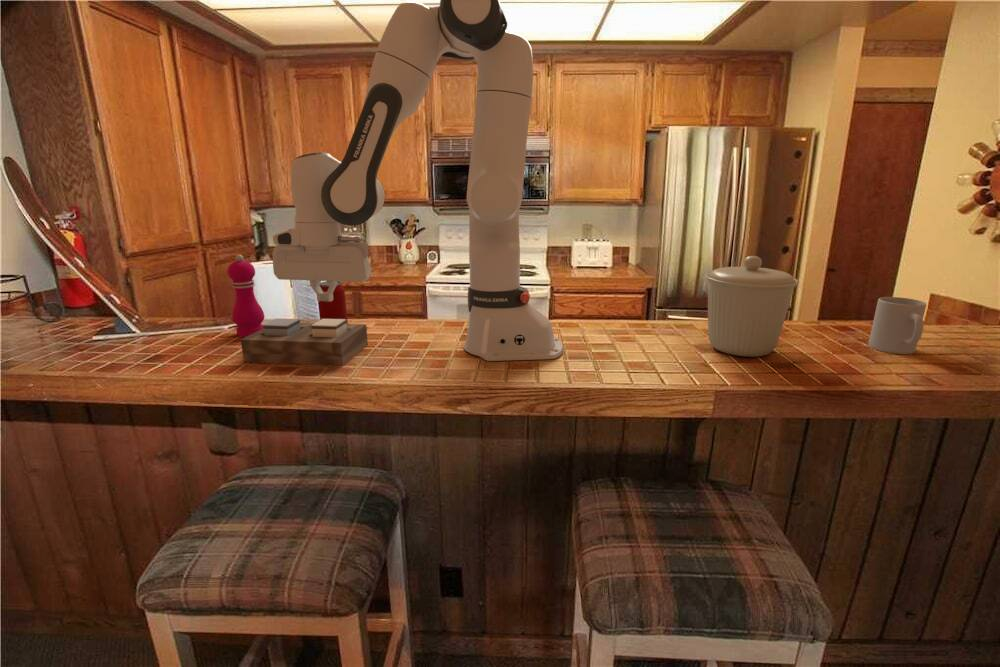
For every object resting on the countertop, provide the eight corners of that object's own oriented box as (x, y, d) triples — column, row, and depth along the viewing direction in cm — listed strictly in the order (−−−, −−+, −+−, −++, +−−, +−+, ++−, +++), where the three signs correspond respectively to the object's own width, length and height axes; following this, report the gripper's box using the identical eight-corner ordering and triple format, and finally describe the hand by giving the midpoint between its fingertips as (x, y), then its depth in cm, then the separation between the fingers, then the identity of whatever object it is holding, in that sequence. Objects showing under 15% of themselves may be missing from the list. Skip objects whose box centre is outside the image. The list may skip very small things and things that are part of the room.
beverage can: (352, 325, 134) (347, 280, 131) (342, 332, 128) (337, 285, 124) (327, 324, 135) (323, 280, 131) (316, 331, 128) (311, 285, 125)
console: (367, 345, 117) (366, 324, 116) (343, 365, 104) (340, 342, 103) (279, 342, 120) (276, 322, 118) (244, 362, 106) (240, 339, 105)
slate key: (302, 340, 114) (299, 319, 113) (289, 347, 109) (286, 325, 108) (279, 339, 115) (276, 318, 113) (266, 347, 110) (262, 325, 108)
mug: (860, 342, 118) (869, 296, 115) (899, 343, 117) (910, 297, 113) (891, 359, 106) (902, 308, 103) (935, 360, 105) (948, 309, 102)
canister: (681, 341, 119) (691, 252, 113) (748, 336, 123) (761, 249, 117) (730, 366, 102) (744, 264, 96) (806, 360, 106) (824, 260, 100)
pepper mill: (261, 328, 132) (249, 251, 126) (270, 333, 127) (259, 254, 121) (231, 333, 127) (218, 254, 121) (240, 339, 122) (226, 257, 116)
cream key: (348, 340, 113) (346, 319, 111) (338, 348, 108) (335, 325, 106) (325, 339, 114) (322, 318, 112) (313, 347, 108) (311, 325, 107)
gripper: (372, 235, 106) (377, 299, 110) (281, 233, 108) (288, 296, 112) (361, 238, 100) (366, 305, 104) (264, 236, 102) (273, 302, 106)
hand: (325, 300), depth 108 cm, fingers closed
